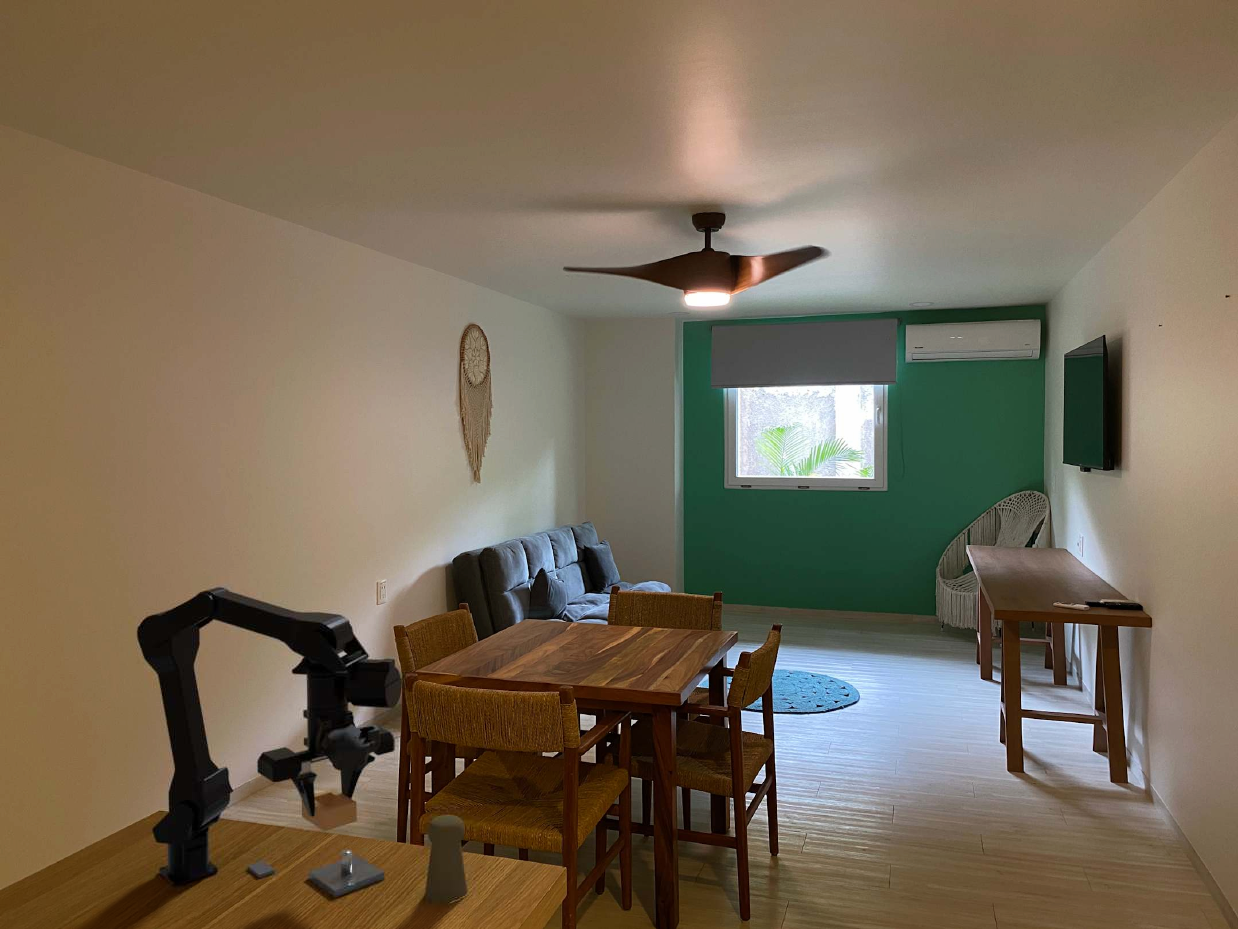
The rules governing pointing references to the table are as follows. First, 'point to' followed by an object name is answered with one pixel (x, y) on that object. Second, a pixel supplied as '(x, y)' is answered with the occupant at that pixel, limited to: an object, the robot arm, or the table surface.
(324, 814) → the link
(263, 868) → the grey rectangular block
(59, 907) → the table surface
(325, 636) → the robot arm
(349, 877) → the plate
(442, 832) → the olive game pawn
